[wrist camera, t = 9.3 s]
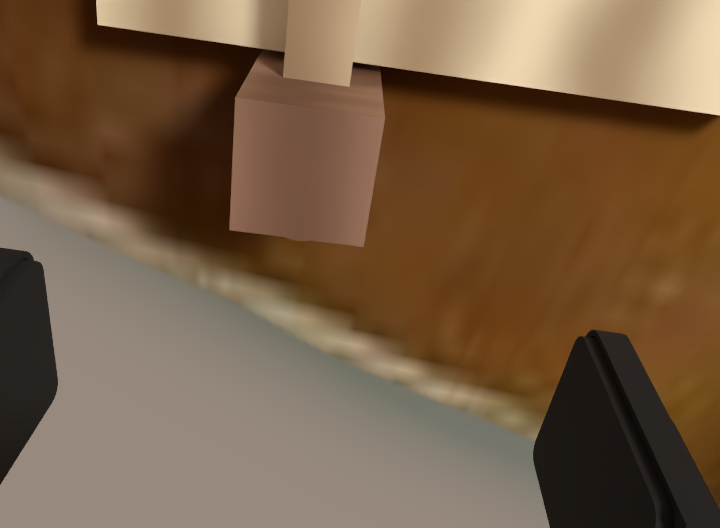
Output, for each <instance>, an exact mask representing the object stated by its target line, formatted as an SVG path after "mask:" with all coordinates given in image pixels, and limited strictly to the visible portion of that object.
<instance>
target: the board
mask: <svg viewBox="0 0 720 528" xmlns="http://www.w3.org/2000/svg"><path fill="white" fill-rule="evenodd" d="M96 8H97V24H98V25H103V26H109V27H116V28H123V29H130V30H137V31H144V32H151V33H157V34H164V35H171V36H178V37H185V38H192V39H199V40H206V41H212V42H219V43H226V44H233V45H240V46H247V47H254V48H260V49H267V50H274V51H281V52H285V45H286V33H287V21H288V8H289V0H96ZM353 62H357V63H363V64H370V65H377V66H384V67H391V68H398V69H405V70H412V71H418V72H425V73H432V74H439V75H446V76H453V77H460V78H466V79H473V80H480V81H487V82H494V83H501V84H508V85H515V86H521V87H528V88H535V89H542V90H549V91H556V92H563V93H569V94H576V95H583V96H590V97H597V98H604V99H611V100H618V101H624V102H631V103H638V104H645V105H652V106H659V107H666V108H672V109H679V110H686V111H693V112H700V113H707V114H714V115H720V0H361V5H360V13H359V20H358V28H357V35H356V42H355V50H354V57H353Z"/></svg>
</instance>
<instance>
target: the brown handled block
mask: <svg viewBox="0 0 720 528" xmlns="http://www.w3.org/2000/svg"><path fill="white" fill-rule="evenodd" d="M360 5H361V0H289V8H288V21H287V33H286V45H285V52H281V51H274V50H267V49H262V51H261V52H260V54H259V56H258V58H257V60H256V61H255V63H254V65H253V67H252V68H251V70H250V72H249V74H248V76H247V77H246V79H245V81H244V83H243V85H242V86H241V88H240V90H239V92H238V93H237V95H236V97H235V114H234V137H233V159H232V182H231V204H230V227H229V230H232V231H240V232H248V233H256V234H264V235H272V236H280V237H286V238H288V239H292V240H296V241H320V242H328V243H336V244H344V245H352V246H360V247H364V241H365V235H366V229H367V223H368V217H369V211H370V205H371V199H372V193H373V187H374V181H375V175H376V169H377V164H378V158H379V152H380V146H381V140H382V134H383V128H384V122H385V113H384V102H383V92H382V82H381V72H380V66H377V65H370V64H363V63H357V62H353V57H354V50H355V42H356V35H357V28H358V20H359V13H360Z"/></svg>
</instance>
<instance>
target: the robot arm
mask: <svg viewBox="0 0 720 528" xmlns="http://www.w3.org/2000/svg"><path fill="white" fill-rule="evenodd" d="M57 386H58V378H57V370H56V362H55V355H54V347H53V339H52V333H51V324H50V317H49V308H48V301H47V293H46V285H45V278H44V270H43V266H42V264H41V263H40V262H37V261H34V259H33V257H32V255H31V254H30V253H29V252H27V251H20V250H12V249H6V248H0V484H1V483H2V481H3V479H4V477H5V476H6V475H7V473H8V471H9V470H10V468H11V467H12V465H13V464H14V462H15V460H16V459H17V457H18V456H19V454H20V452H21V451H22V449H23V448H24V446H25V445H26V443H27V441H28V440H29V438H30V437H31V435H32V434H33V432H34V430H35V429H36V427H37V426H38V424H39V422H40V421H41V419H42V418H43V416H44V414H45V413H46V411H47V410H48V408H49V406H50V405H51V403H52V402H53V400H54V398H55V395H56V391H57ZM533 460H534V465H535V469H536V473H537V477H538V481H539V485H540V489H541V493H542V497H543V501H544V505H545V509H546V513H547V517H548V521H549V525H550V528H720V510H719V508H718V506H717V504H716V502H715V501H714V499H713V497H712V495H711V493H710V491H709V489H708V487H707V485H706V483H705V481H704V480H703V478H702V476H701V474H700V472H699V470H698V468H697V466H696V464H695V462H694V460H693V459H692V457H691V455H690V453H689V451H688V449H687V447H686V445H685V443H684V441H683V439H682V437H681V436H680V434H679V432H678V430H677V428H676V426H675V424H674V423H673V421H672V420H671V419H670V417H669V415H668V413H667V411H666V409H665V407H664V405H663V404H662V402H661V400H660V398H659V396H658V394H657V392H656V390H655V388H654V386H653V384H652V382H651V380H650V379H649V377H648V375H647V373H646V371H645V369H644V367H643V365H642V363H641V361H640V359H639V357H638V356H637V354H636V352H635V350H634V348H633V346H632V344H631V342H630V340H629V338H628V337H627V336H626V335H624V334H621V333H613V332H606V331H599V330H591V331H590V332H589V333H588V334H587V335H586V337H583V336H580V337H578V338H577V339H576V341H575V343H574V346H573V348H572V351H571V353H570V356H569V358H568V361H567V363H566V366H565V368H564V371H563V373H562V376H561V378H560V381H559V383H558V386H557V388H556V391H555V394H554V396H553V399H552V401H551V404H550V406H549V409H548V411H547V414H546V416H545V419H544V421H543V424H542V426H541V429H540V431H539V434H538V436H537V439H536V441H535V445H534V451H533Z"/></svg>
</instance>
